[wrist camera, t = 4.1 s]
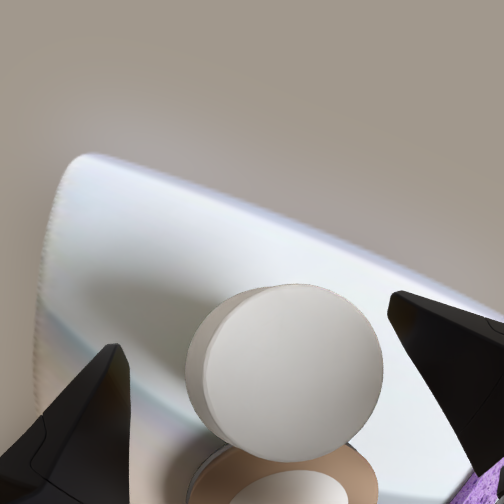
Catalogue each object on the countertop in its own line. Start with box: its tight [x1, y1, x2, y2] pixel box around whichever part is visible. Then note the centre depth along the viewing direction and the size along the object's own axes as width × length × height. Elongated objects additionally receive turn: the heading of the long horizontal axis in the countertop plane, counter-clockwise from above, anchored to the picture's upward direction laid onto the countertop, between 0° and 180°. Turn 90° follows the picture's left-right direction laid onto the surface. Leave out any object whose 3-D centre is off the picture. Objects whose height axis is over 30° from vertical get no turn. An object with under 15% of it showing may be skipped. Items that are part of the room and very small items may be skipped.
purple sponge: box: [450, 457, 504, 504], centre depth 11 cm, size 7×13×2 cm, turn 130°
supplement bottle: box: [185, 284, 383, 462], centre depth 10 cm, size 5×5×10 cm
